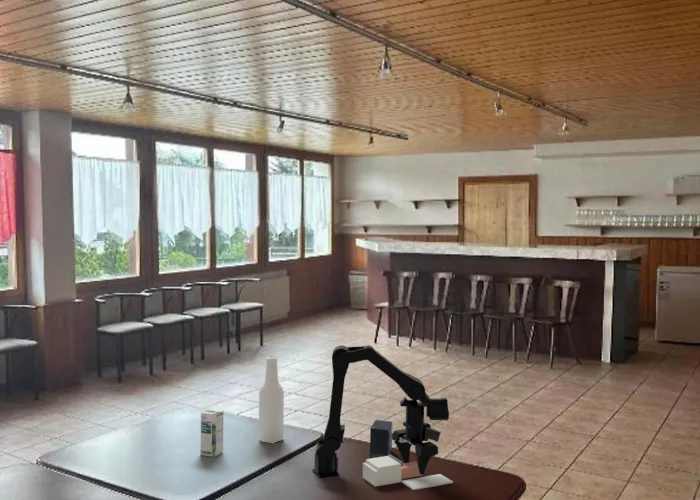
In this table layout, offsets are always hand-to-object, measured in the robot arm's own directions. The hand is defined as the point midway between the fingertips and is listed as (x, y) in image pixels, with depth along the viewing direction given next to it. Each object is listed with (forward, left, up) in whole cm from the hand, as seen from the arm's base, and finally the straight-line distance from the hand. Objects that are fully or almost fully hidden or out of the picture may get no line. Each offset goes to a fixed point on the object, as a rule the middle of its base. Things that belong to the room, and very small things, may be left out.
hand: (414, 469), depth 206 cm
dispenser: (-11, 0, -1) cm, 11 cm away
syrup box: (-53, +44, -2) cm, 69 cm away
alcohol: (-30, +50, -2) cm, 58 cm away
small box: (-1, +20, -2) cm, 20 cm away
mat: (0, -8, -1) cm, 8 cm away
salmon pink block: (-5, 0, -2) cm, 5 cm away
